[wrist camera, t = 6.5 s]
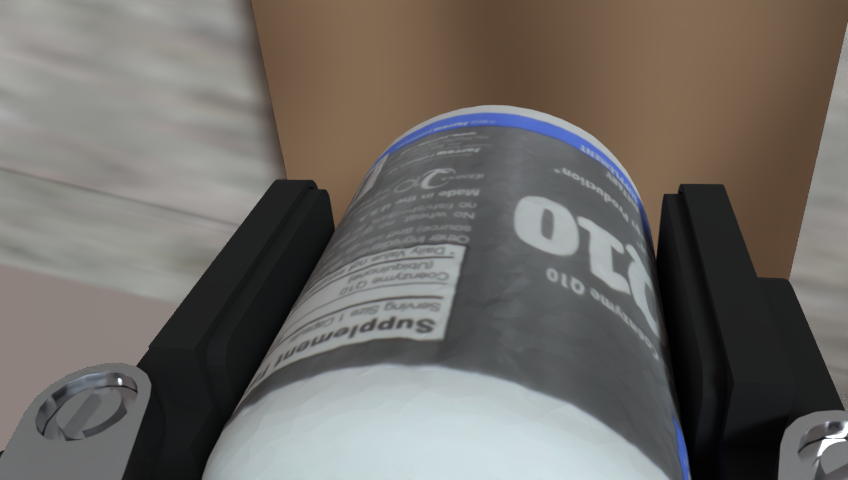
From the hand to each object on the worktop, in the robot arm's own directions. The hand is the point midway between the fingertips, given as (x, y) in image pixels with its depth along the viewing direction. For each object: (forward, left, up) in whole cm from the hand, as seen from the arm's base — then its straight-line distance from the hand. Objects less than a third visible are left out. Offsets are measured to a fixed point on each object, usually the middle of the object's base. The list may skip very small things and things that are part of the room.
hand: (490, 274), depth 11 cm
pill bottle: (0, 0, -1) cm, 1 cm away
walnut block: (0, 0, -8) cm, 8 cm away
